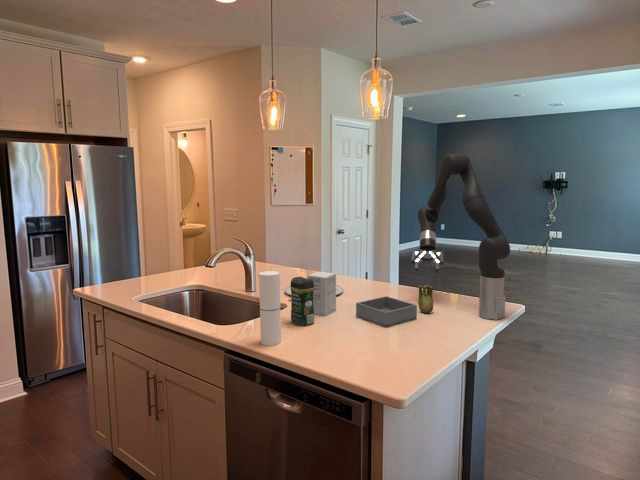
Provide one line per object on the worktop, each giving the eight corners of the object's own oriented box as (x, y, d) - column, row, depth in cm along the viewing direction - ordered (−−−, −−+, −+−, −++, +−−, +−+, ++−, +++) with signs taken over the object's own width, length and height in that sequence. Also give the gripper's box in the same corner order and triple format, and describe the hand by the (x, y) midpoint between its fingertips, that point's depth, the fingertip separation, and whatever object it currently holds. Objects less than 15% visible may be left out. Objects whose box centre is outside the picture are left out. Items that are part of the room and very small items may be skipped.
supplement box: (318, 307, 200) (318, 271, 198) (336, 310, 196) (336, 273, 193) (307, 313, 192) (306, 275, 190) (325, 316, 187) (325, 277, 185)
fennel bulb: (416, 312, 192) (417, 285, 191) (423, 310, 196) (423, 283, 194) (428, 315, 188) (429, 287, 187) (434, 312, 192) (435, 285, 190)
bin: (416, 319, 183) (416, 305, 182) (385, 327, 173) (385, 312, 172) (386, 309, 197) (386, 296, 196) (356, 316, 187) (356, 302, 186)
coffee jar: (287, 321, 181) (286, 277, 178) (303, 317, 186) (303, 274, 183) (301, 327, 173) (300, 281, 171) (317, 323, 178) (317, 278, 176)
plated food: (273, 291, 231) (273, 285, 230) (319, 283, 249) (319, 277, 248) (307, 304, 207) (307, 297, 207) (355, 293, 225) (355, 287, 225)
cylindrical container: (262, 346, 154) (260, 275, 151) (259, 339, 161) (257, 271, 158) (282, 344, 156) (281, 274, 153) (279, 337, 163) (277, 270, 159)
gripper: (412, 236, 209) (410, 265, 200) (443, 237, 206) (443, 266, 196) (412, 246, 215) (411, 274, 206) (443, 247, 212) (442, 276, 202)
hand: (426, 270), depth 201 cm, fingers open, 8 cm apart
